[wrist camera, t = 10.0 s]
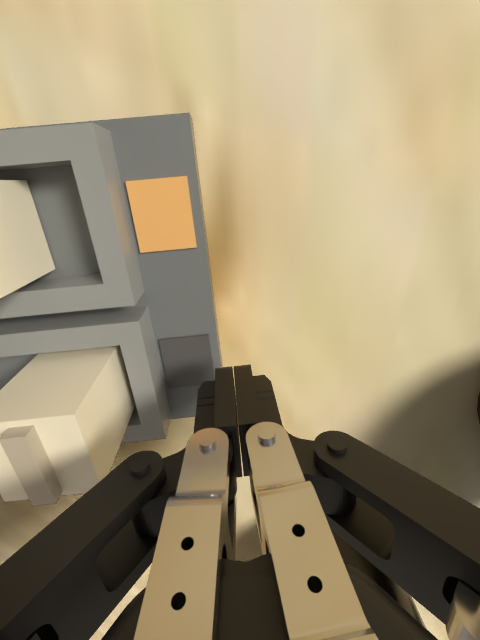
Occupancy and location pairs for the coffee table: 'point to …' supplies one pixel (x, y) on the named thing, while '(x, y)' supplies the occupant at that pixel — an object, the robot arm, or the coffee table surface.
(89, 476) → the tab
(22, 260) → the tab
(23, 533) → the coffee table surface
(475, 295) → the coffee table surface
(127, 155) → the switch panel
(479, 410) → the black ball on stand
